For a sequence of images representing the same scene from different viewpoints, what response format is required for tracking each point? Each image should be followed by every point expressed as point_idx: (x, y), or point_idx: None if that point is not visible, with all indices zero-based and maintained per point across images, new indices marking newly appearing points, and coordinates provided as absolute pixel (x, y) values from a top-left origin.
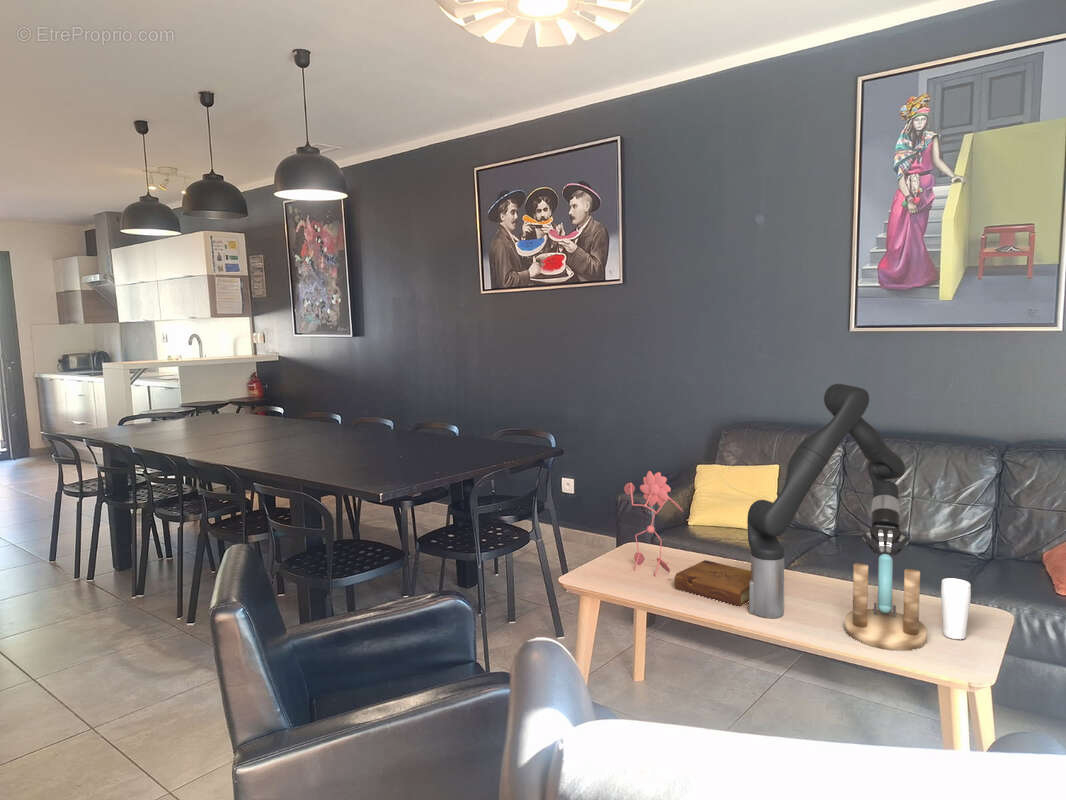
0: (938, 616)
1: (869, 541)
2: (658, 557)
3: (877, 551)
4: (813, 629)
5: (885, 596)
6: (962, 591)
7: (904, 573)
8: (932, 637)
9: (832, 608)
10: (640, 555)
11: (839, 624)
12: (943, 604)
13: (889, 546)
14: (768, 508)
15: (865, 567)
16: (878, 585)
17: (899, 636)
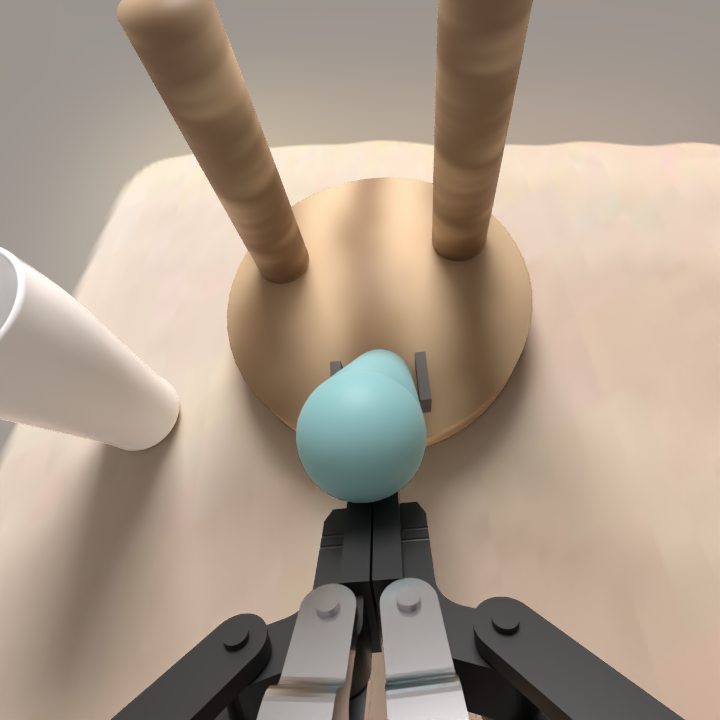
0: (164, 633)
1: (636, 711)
2: None
3: (467, 620)
4: (616, 236)
5: (371, 352)
6: None
7: (217, 13)
8: (221, 369)
9: (636, 496)
10: None
11: (546, 324)
12: (108, 333)
13: (306, 673)
14: None
15: None
16: (412, 379)
17: (320, 213)
